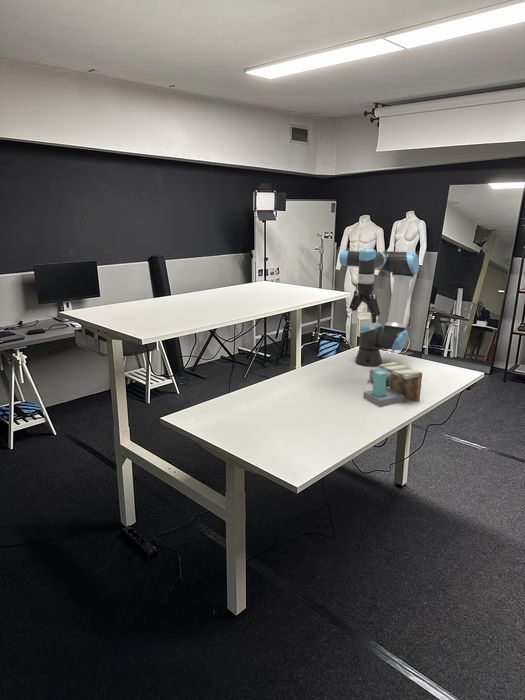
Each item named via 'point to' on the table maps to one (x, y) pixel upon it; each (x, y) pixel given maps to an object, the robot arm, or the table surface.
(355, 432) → the table surface
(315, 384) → the table surface
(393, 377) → the wood grain block
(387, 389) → the socket
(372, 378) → the grey yarn spool
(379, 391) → the peg
